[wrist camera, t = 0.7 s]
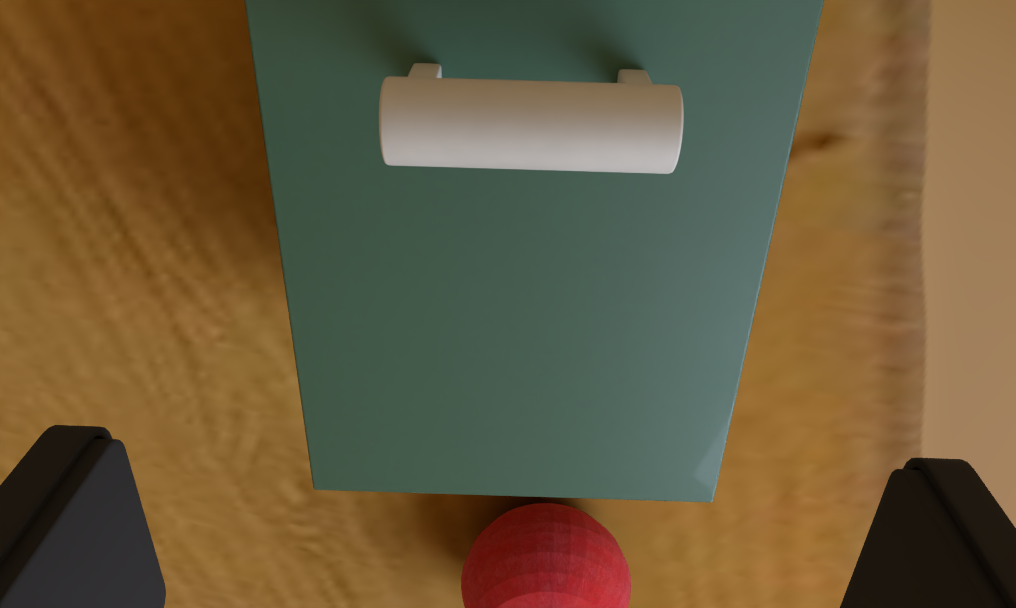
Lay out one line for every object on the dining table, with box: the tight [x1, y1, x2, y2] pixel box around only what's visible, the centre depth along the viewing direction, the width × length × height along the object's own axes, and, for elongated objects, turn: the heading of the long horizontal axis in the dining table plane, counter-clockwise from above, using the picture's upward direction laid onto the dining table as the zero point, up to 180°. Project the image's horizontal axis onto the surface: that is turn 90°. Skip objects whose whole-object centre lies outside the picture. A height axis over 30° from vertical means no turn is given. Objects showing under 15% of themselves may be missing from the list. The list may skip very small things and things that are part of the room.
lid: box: [244, 0, 824, 502], centre depth 21 cm, size 16×14×5 cm
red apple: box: [461, 503, 631, 608], centre depth 40 cm, size 9×9×8 cm
